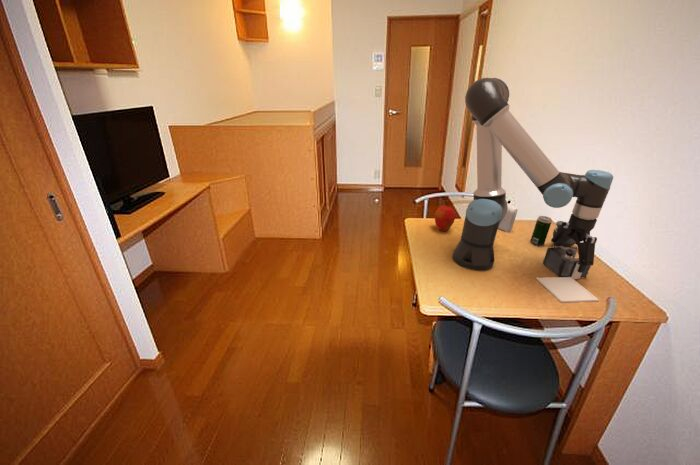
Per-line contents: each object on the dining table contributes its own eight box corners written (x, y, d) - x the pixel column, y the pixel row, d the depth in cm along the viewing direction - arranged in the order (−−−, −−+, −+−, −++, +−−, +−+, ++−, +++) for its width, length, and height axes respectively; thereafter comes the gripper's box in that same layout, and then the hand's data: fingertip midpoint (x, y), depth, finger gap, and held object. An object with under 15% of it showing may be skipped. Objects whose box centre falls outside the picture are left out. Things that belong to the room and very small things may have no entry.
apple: (430, 225, 152) (433, 201, 147) (448, 225, 153) (452, 201, 148) (436, 234, 144) (440, 209, 139) (455, 233, 145) (460, 209, 140)
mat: (560, 302, 102) (561, 301, 102) (536, 279, 113) (536, 277, 113) (598, 301, 103) (599, 299, 103) (570, 278, 115) (570, 277, 114)
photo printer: (513, 231, 150) (520, 206, 144) (508, 233, 147) (515, 208, 142) (493, 223, 157) (499, 199, 152) (488, 225, 155) (494, 201, 149)
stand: (561, 273, 118) (569, 252, 114) (554, 266, 121) (561, 246, 118) (573, 273, 118) (581, 252, 114) (564, 266, 122) (572, 246, 118)
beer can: (541, 247, 135) (550, 222, 130) (528, 243, 139) (536, 217, 133) (545, 243, 139) (554, 218, 133) (532, 239, 142) (540, 214, 137)
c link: (560, 277, 115) (566, 261, 112) (542, 263, 124) (548, 247, 121) (585, 277, 116) (592, 260, 113) (566, 262, 125) (572, 247, 122)
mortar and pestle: (564, 241, 142) (573, 216, 136) (580, 251, 133) (591, 225, 128) (541, 241, 140) (549, 216, 135) (556, 252, 132) (566, 226, 127)
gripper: (623, 230, 100) (597, 287, 109) (570, 203, 121) (552, 253, 130) (601, 230, 99) (577, 288, 109) (551, 203, 120) (535, 254, 130)
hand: (563, 269), depth 120 cm, fingers open, 11 cm apart
